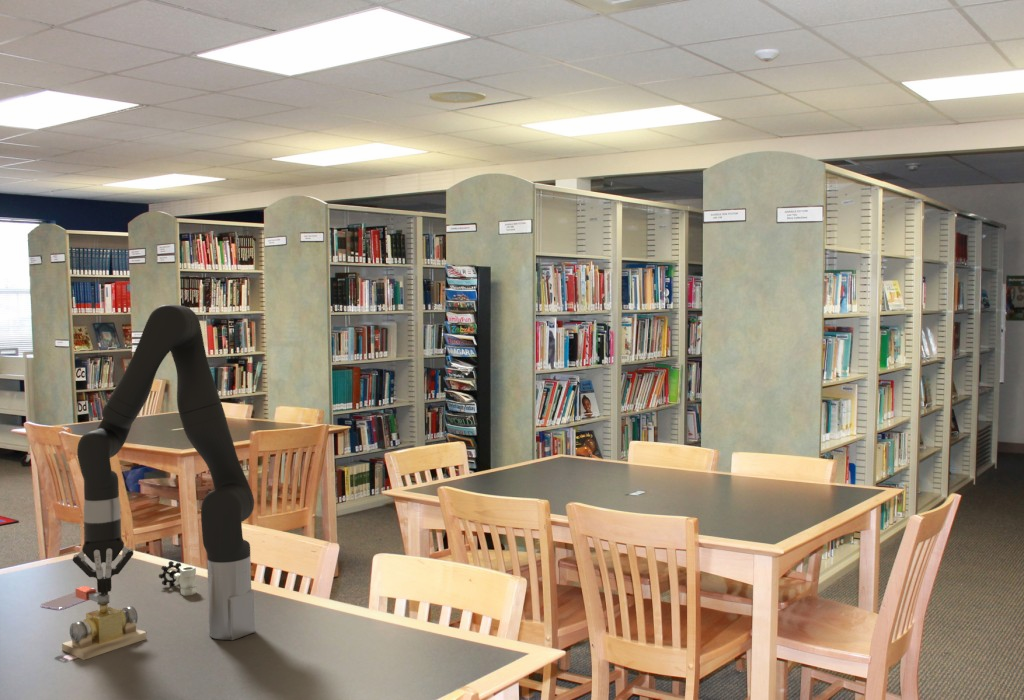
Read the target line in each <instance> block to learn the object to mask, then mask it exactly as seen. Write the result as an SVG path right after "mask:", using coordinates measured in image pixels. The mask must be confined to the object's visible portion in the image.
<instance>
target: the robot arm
mask: <svg viewBox="0 0 1024 700" xmlns="http://www.w3.org/2000/svg"><path fill="white" fill-rule="evenodd" d="M201 326H202V325H201V322H200V320H199V316H197V313H195V312H194V310H193V309H191V308H190V307H188V306H185V305H180V304H179V305H177V304H162V305H160V306H158V307H156V308H154V310H153V311H152V312H151V313H150V314H149V316H148V319H147V321H146V323H145V325H144V327H143V329H142V334H141V336H140V338H139V341H138V343H137V346H136V347H135V350H134V352H133V354H132V357H131V359H130V361H129V362H128V365H127V368H126V369H125V370H124V373H123V374H122V376H121V378H120V380H119V381H118V383H117V385H116V386H115V388H114V389H113V391H112V392H111V394H110V396H109V397H108V398H107V401H106V403H105V404H104V406H103V408H102V411H101V416H102V419H101V421H100V423H99V425H98V427H97V428H96V429H95V430H94V429H93V430H91V431H88V432H86V433H84V434H83V435H82V436H81V437H80V439H79V441H78V443H77V452H76V455H77V459H78V461H77V462H78V465H79V470H80V473H81V474H82V477H83V494H84V495H83V496H84V503H83V533H84V534H83V539H84V544H83V545H82V550H81V551H79V552H78V553H77V554H73V557H72V562H73V563H74V564H75V565H77V567H78V568H79V569H80V570H81V571H82V572H84V574H85V575H86V576H87V577H89V578H95V579H96V584H97V585H96V586H97V587H96V589H97V591H98V593H101V594H108V595H109V592H112V577H113V576H116V575H119V574H120V572H121V571H122V570H123V569H124V567H125V566H126V565H127V564H128V562H129V560H131V558H132V557H133V556H134V549H133V548H129V547H127V546H125V542H124V540H123V539H122V518H121V516H122V515H121V514H122V511H121V501H120V497H119V496H120V494H119V493H120V490H119V476H118V474H117V472H115V471H113V470H112V465H111V458H113V457H115V456H116V455H118V453H119V452H120V450H121V449H122V448H123V447H124V445H125V443H126V441H127V438H128V436H129V433H130V430H131V428H132V425H133V423H134V421H135V420H136V419H137V417H138V416H139V413H140V412H141V411H142V408H143V407H145V406H144V405H145V404H146V402H147V400H148V398H149V396H150V393H151V391H152V387H153V384H154V380H155V377H156V374H157V372H158V369H159V367H160V365H161V364H162V363H163V361H164V359H165V358H166V356H168V354H169V353H170V354H171V357H172V359H173V362H174V365H175V369H176V377H177V379H176V384H177V385H176V404H177V409H178V413H179V417H180V420H181V421H180V422H181V424H182V427H183V431H184V433H185V436H186V438H187V439H188V442H190V443H191V446H192V447H193V448H194V449H195V451H196V452H197V453H198V455H199V456H200V457H201V458H202V459H203V462H205V464H206V467H207V468H208V471H209V473H210V477H211V480H212V482H213V483H212V484H213V488H214V489H213V490H211V491H209V492H208V493H207V494H205V496H204V498H203V499H202V503H201V508H200V521H201V534H202V544H203V547H204V549H205V552H206V558H207V562H206V564H207V565H206V566H207V596H208V598H207V599H208V623H209V626H208V627H209V631H208V632H209V636H210V638H213V639H214V640H215V639H216V640H230V641H234V640H237V639H239V638H243V637H245V636H248V635H251V634H254V633H255V632H256V623H255V621H256V620H255V616H256V615H255V614H256V613H255V591H254V590H252V571H251V570H252V565H251V564H252V563H251V562H252V561H251V544H250V542H249V540H246V539H244V538H243V537H244V536H243V526H242V525H243V524H242V523H243V522H244V521H246V520H247V519H248V518H249V517H250V516H251V515H252V513H253V512H254V507H255V499H254V495H253V494H254V493H253V491H252V489H251V486H250V484H249V482H248V479H247V477H246V474H245V472H244V470H243V467H242V465H241V463H240V460H239V458H238V454H237V451H236V448H235V444H234V440H233V438H232V434H231V431H230V429H229V425H228V421H227V417H226V414H225V413H226V412H225V410H224V408H223V404H222V401H221V397H220V395H219V392H218V390H217V385H216V382H215V379H214V376H213V373H212V370H211V367H210V365H209V361H208V357H207V352H206V347H205V342H204V337H203V332H202V331H203V330H202V327H201ZM120 553H121V557H122V558H121V559H119V561H118V562H117V564H116V565H115V567H113V561H114V562H115V560H116V559H117V557H118V556H119V555H120ZM86 557H87V558H88V559H89V561H90V562H92V563H94V566H95V567H94V568H95V569H93V567H92V566H90V564H88V563H87V561H86ZM103 563H105V570H104V569H103Z"/></svg>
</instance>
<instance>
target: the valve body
mask: <svg viewBox="0 0 1024 700" xmlns="http://www.w3.org/2000/svg"><path fill="white" fill-rule="evenodd" d="M108 605H109V603H108V604H104V605H99V609H97V610H93V611H90V612H87V613H85V618H84V620H80V621H77V622H74V623H71V624H70V625H69V636H70V639H71V641H73V642H74V643H79V642H80V640H81V639H84V638H87V636H88V635H92V641H93V642H96V643H98V644H101V643H104V642H107V641H111V640H114V639H117V638H120V637H123V632H122V629H124V628H125V627H126V623H129V622H130V624H132V623H135V622H136V624H137V623H138V617H139V616H138V613H137V612H138V611H137V610H136V608H135V607H134V606H132V605H130V606H126V607H123V608H122V609H121V608H119V609H118V608H114V607H110V606H108Z"/></svg>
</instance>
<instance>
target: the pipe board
mask: <svg viewBox="0 0 1024 700" xmlns="http://www.w3.org/2000/svg"><path fill="white" fill-rule="evenodd" d="M122 632H123V637H120V638H117V639H114V640H111V641H107V642H104V643H101V644H98V643H96V642H93V641H92V635H88V636H87V638H84V639H81V640H80V642H79V643H74V642H73V641H72V640H69V641H65V642H63V643H61V650H62V651H63V652H66V654H67V653H68V654H70V655H73V656H75V657H77V658H79V659H81V660H88V659H91V658H94V657H97V656H99V655H102V654H105V653H108V652H111V651H114V650H117V649H120V648H124V647H126V646H131V645H132V644H135V643H138V642H141V641H144V640H147V632H146V631H144V630H142V629H139V628H137V623H136V622H135V623H132V624H130V622H129V623H126V627H125V628H124V629H122Z"/></svg>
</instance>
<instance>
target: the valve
mask: <svg viewBox="0 0 1024 700" xmlns="http://www.w3.org/2000/svg"><path fill="white" fill-rule="evenodd" d="M181 566H182V563H181V562H174V561H172V560H170V561H169V562H168V566H166V565H162V566H161V570H162V571H163V572H162V573H159V574H158V578H159V579H161V580H162V579H163V580H162V581H161V584H162V585H163V586H167V585H169V586H170V587H174V586H175V582H176V583H177V584H179V586H180V590H179V591H180V595H182V596H183V597H185V596H192V595H196V594H197V582H198V580H197V575H196V574H197V569H196V567H195V566H185V567H181ZM171 568H172V569H173V568H175V570H174V569H173V570H170V569H171ZM169 570H170V571H169ZM167 575H168V577H169V578H170V579H168V578H167Z"/></svg>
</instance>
